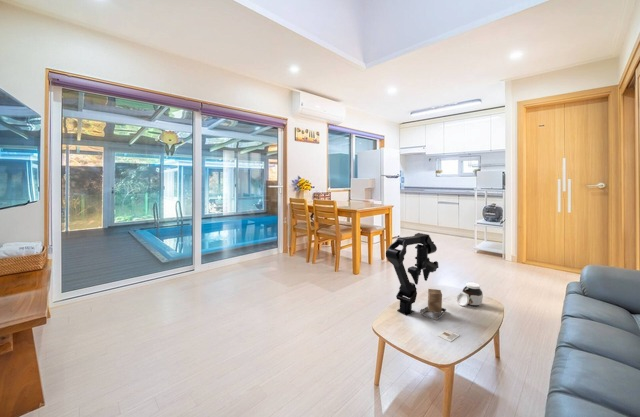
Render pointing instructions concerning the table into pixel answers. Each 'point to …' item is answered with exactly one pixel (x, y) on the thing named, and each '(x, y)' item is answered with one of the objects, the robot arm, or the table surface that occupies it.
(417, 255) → the robot arm
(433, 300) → the walnut block
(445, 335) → the card
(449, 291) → the table surface
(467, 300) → the spread jar
